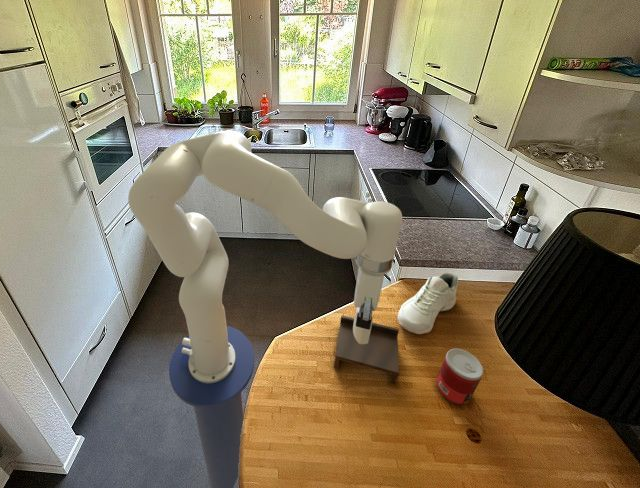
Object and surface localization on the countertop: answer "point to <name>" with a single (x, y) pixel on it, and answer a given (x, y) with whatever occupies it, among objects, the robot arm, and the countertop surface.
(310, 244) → the robot arm
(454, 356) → the canned food
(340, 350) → the shelf
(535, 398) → the countertop surface
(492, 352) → the countertop surface
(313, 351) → the countertop surface
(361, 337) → the eye dropper bottle
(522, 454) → the countertop surface
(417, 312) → the running shoe
